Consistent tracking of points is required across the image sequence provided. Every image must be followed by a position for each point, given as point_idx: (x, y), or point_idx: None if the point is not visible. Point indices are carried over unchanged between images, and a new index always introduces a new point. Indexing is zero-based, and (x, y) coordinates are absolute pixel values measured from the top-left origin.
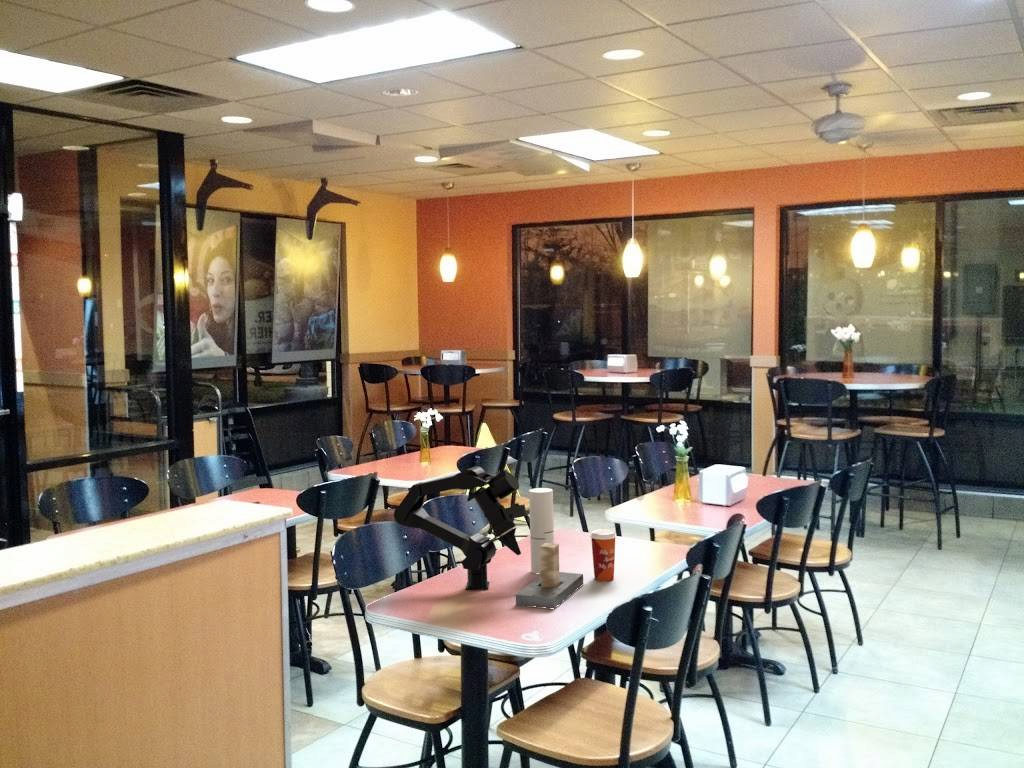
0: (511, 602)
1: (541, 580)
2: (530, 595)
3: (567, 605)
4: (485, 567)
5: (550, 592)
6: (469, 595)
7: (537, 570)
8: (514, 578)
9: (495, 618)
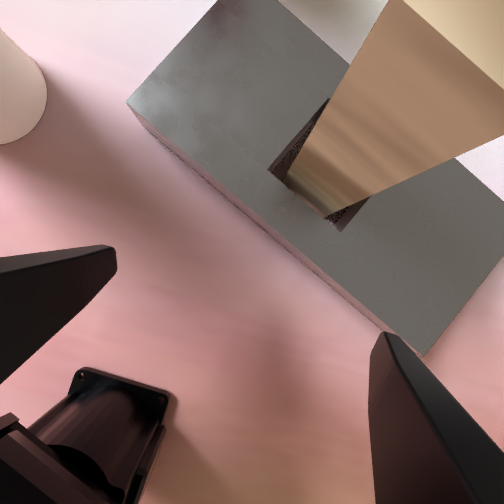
0: (355, 346)
1: (350, 204)
2: (458, 300)
3: None
4: (97, 459)
5: (449, 208)
6: (212, 479)
7: (16, 122)
8: (51, 242)
9: (501, 447)
